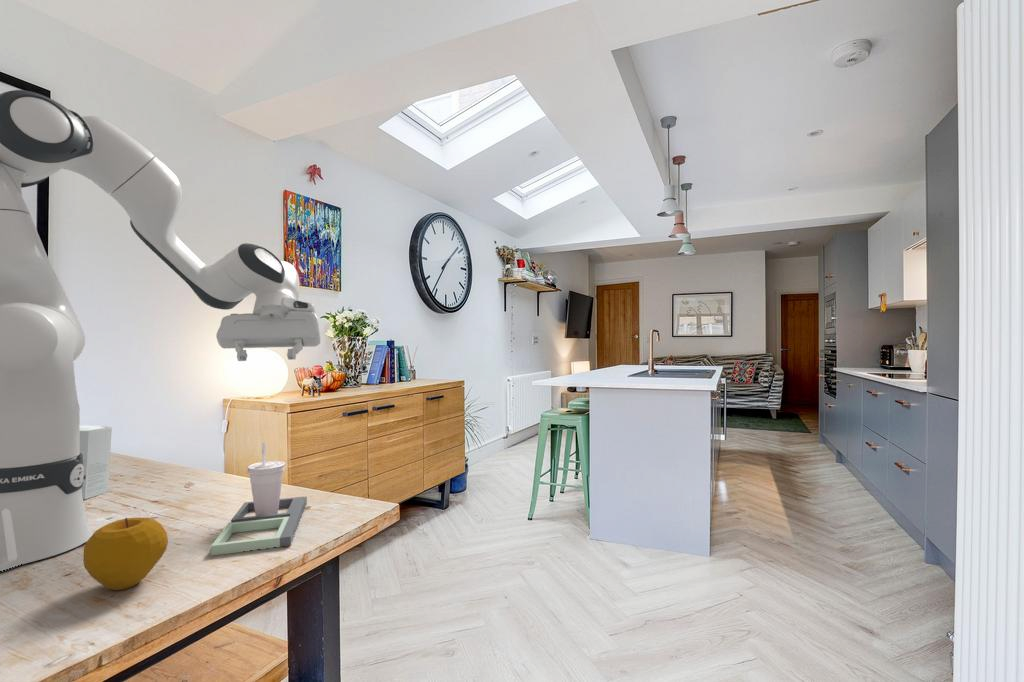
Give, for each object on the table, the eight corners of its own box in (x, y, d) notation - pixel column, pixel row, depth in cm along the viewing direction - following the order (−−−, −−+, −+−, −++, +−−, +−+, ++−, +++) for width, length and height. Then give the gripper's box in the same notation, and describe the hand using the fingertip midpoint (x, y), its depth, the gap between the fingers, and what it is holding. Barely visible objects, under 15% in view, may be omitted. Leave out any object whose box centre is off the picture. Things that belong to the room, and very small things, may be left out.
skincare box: (48, 499, 98) (48, 429, 98) (76, 490, 104) (76, 424, 104) (86, 500, 97) (86, 429, 98) (112, 491, 103) (112, 424, 104)
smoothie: (239, 518, 87) (239, 443, 87) (271, 507, 92) (271, 437, 92) (261, 524, 84) (261, 447, 84) (293, 513, 89) (292, 440, 89)
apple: (184, 571, 67) (184, 508, 67) (121, 605, 58) (121, 533, 58) (132, 565, 68) (132, 504, 68) (63, 598, 60) (63, 529, 60)
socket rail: (211, 555, 72) (211, 545, 72) (244, 509, 91) (244, 502, 91) (290, 545, 75) (290, 536, 75) (306, 503, 95) (306, 496, 95)
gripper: (220, 303, 102) (206, 349, 92) (320, 303, 107) (316, 346, 98) (226, 324, 106) (213, 370, 97) (323, 323, 112) (319, 366, 102)
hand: (266, 358), depth 97 cm, fingers open, 8 cm apart
